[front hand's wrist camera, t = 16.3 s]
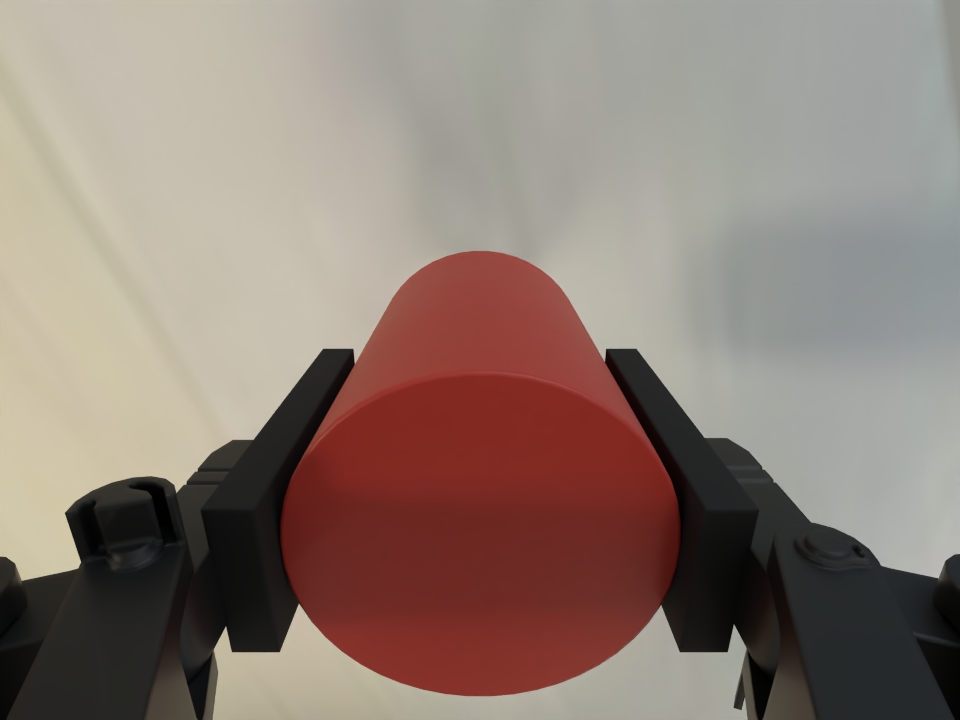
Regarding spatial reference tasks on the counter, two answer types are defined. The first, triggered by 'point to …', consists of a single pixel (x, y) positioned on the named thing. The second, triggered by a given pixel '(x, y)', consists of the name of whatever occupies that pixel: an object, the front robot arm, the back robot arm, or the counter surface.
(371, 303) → the counter surface
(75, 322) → the counter surface
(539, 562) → the canister
